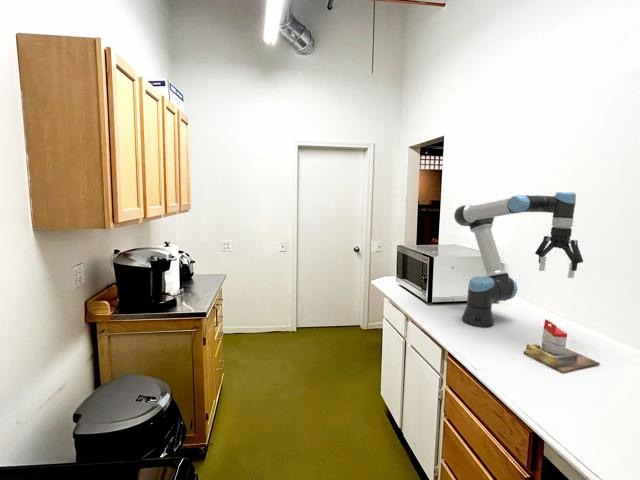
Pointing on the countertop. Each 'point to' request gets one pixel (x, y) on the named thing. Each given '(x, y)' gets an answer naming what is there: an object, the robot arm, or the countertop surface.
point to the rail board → (572, 367)
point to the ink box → (553, 339)
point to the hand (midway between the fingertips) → (555, 274)
